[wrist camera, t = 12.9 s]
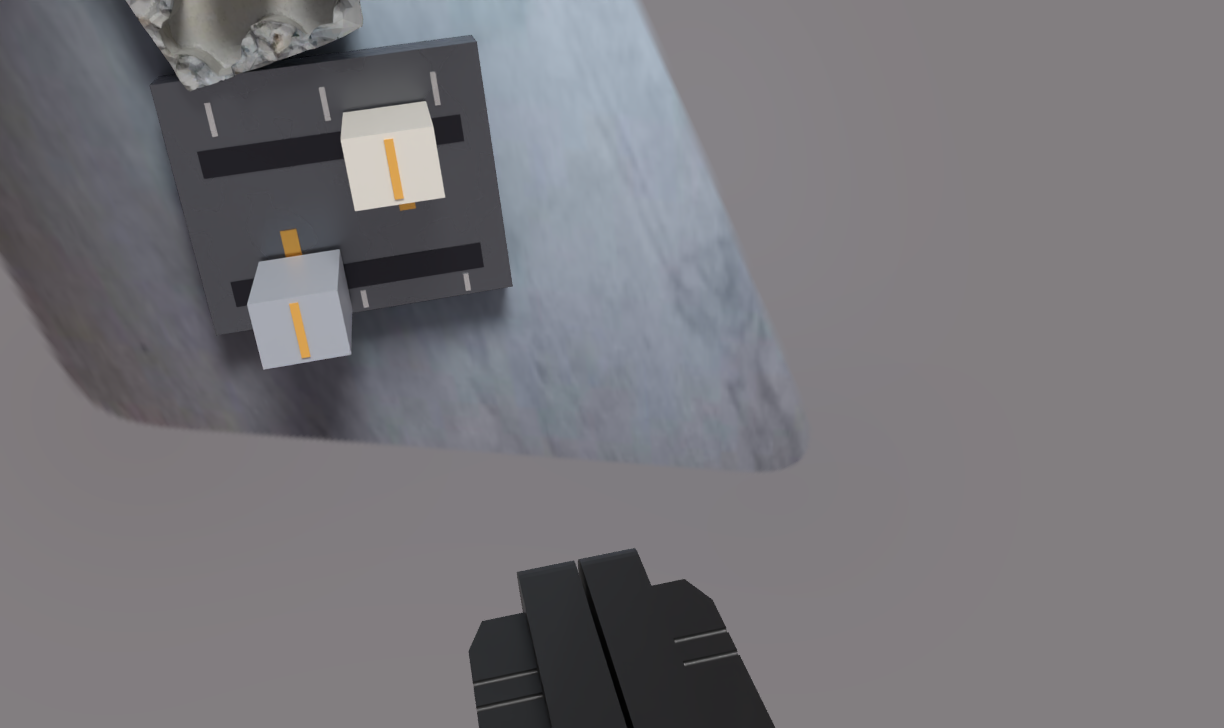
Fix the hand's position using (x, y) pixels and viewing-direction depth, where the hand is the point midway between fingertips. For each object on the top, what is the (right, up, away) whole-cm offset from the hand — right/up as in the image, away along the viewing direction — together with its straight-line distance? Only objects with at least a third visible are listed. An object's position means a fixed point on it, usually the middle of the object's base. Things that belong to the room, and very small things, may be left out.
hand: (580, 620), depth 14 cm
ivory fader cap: (-8, +11, +28) cm, 31 cm away
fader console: (-10, +10, +30) cm, 33 cm away
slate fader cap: (-11, +6, +29) cm, 32 cm away
